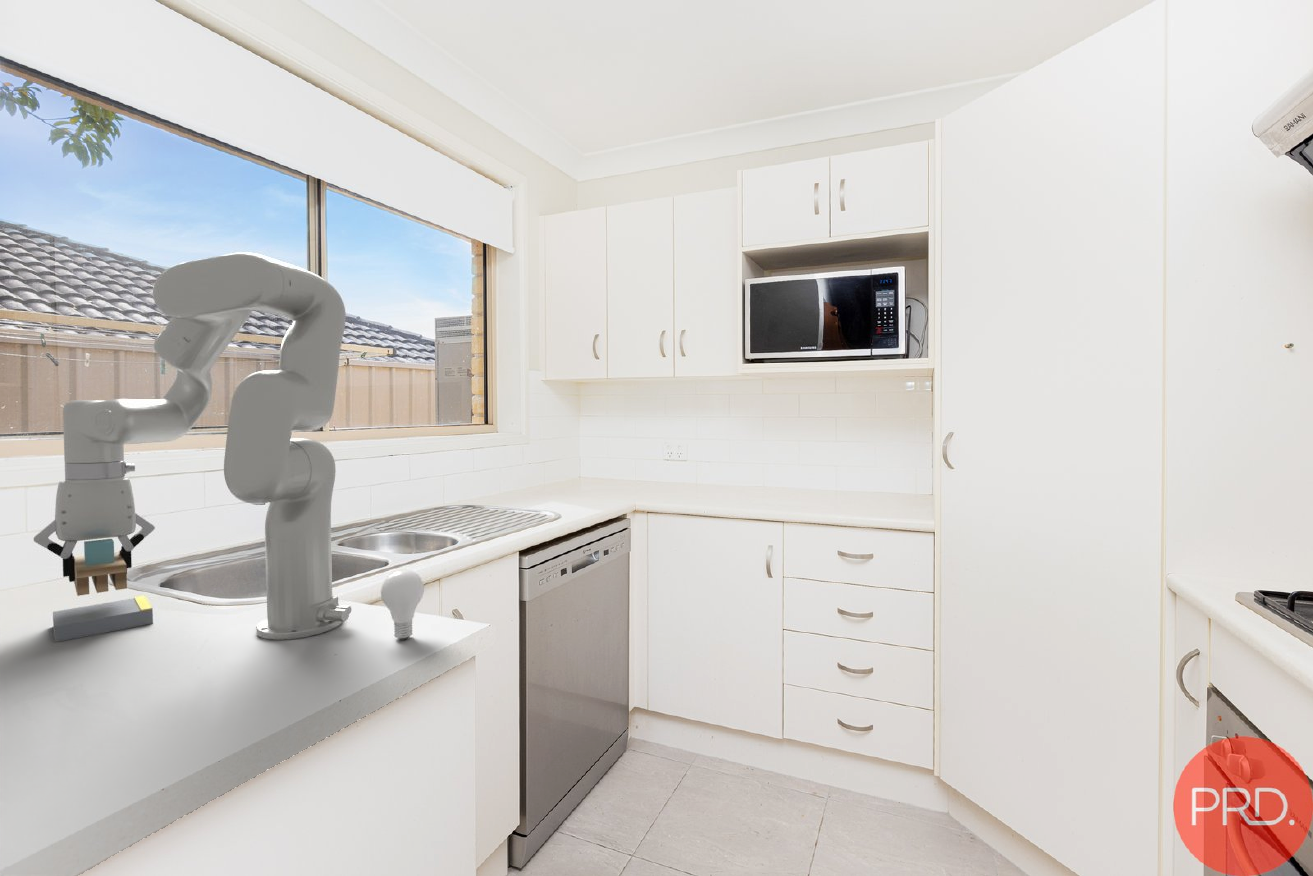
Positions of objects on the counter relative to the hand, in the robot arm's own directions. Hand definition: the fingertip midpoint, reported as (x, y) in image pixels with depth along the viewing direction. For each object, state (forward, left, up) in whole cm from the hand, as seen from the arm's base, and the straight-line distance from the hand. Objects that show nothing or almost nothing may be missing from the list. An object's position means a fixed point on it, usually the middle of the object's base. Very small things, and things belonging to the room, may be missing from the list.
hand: (98, 575), depth 107 cm
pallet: (-2, +2, -1) cm, 3 cm away
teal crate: (-3, +2, +3) cm, 5 cm away
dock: (-3, +2, -8) cm, 8 cm away
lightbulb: (-57, -1, -8) cm, 57 cm away
